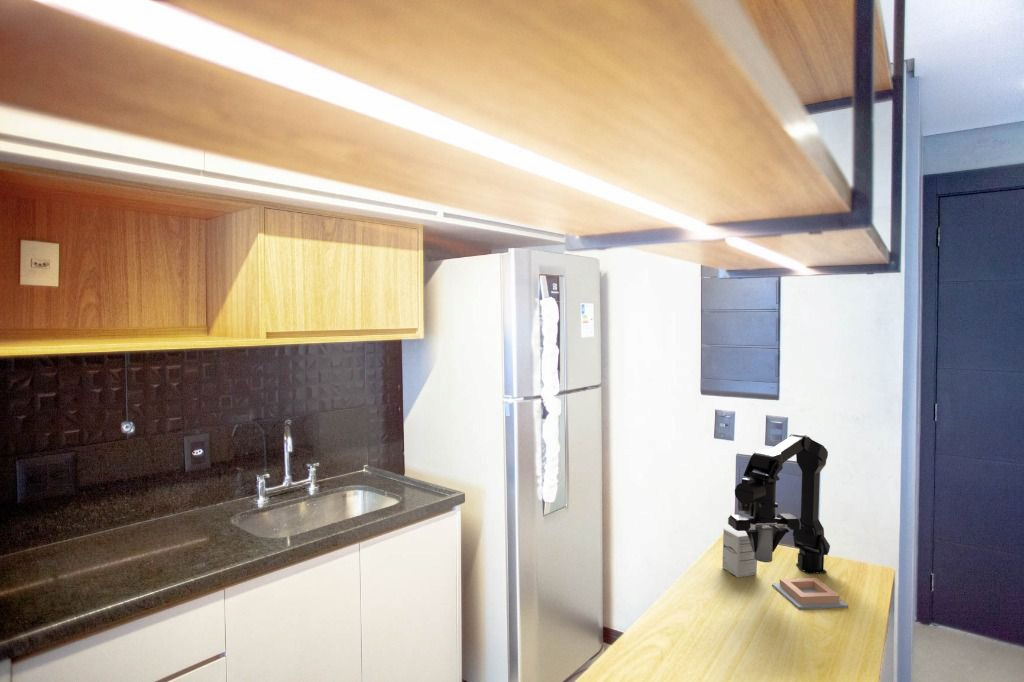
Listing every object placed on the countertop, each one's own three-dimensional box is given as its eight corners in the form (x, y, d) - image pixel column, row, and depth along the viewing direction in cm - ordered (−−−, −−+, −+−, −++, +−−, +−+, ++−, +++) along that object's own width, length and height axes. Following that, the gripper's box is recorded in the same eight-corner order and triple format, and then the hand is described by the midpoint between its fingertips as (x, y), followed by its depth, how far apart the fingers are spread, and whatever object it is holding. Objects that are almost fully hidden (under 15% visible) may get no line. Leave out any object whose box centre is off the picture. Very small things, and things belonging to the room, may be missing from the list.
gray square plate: (817, 584, 176) (817, 575, 176) (848, 607, 162) (848, 598, 162) (771, 585, 175) (772, 576, 174) (798, 609, 161) (798, 599, 160)
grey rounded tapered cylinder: (767, 555, 172) (767, 524, 172) (775, 562, 167) (776, 530, 167) (750, 555, 172) (751, 524, 171) (759, 562, 167) (759, 530, 167)
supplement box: (721, 568, 186) (722, 528, 186) (741, 565, 189) (742, 525, 188) (737, 578, 179) (738, 536, 179) (757, 575, 182) (758, 534, 181)
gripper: (781, 488, 177) (780, 540, 178) (720, 489, 176) (719, 541, 177) (802, 500, 166) (800, 555, 167) (737, 501, 165) (736, 557, 166)
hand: (763, 551), depth 169 cm, fingers closed on grey rounded tapered cylinder, 5 cm apart
